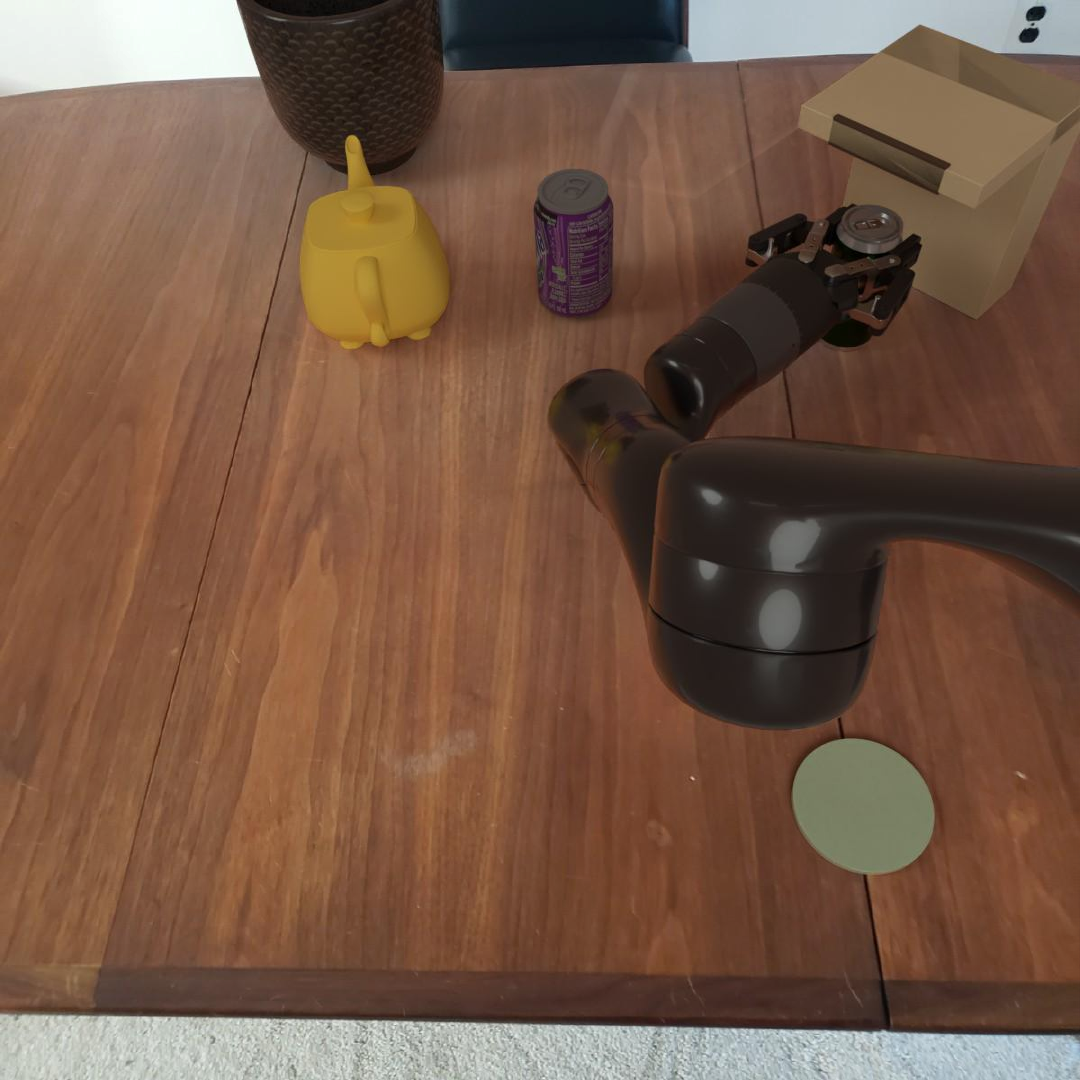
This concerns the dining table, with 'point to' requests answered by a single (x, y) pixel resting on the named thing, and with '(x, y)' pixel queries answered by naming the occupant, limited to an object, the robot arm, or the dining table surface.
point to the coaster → (862, 806)
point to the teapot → (371, 262)
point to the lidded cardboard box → (952, 155)
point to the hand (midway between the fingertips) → (884, 229)
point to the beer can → (857, 239)
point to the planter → (350, 73)
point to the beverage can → (574, 242)
